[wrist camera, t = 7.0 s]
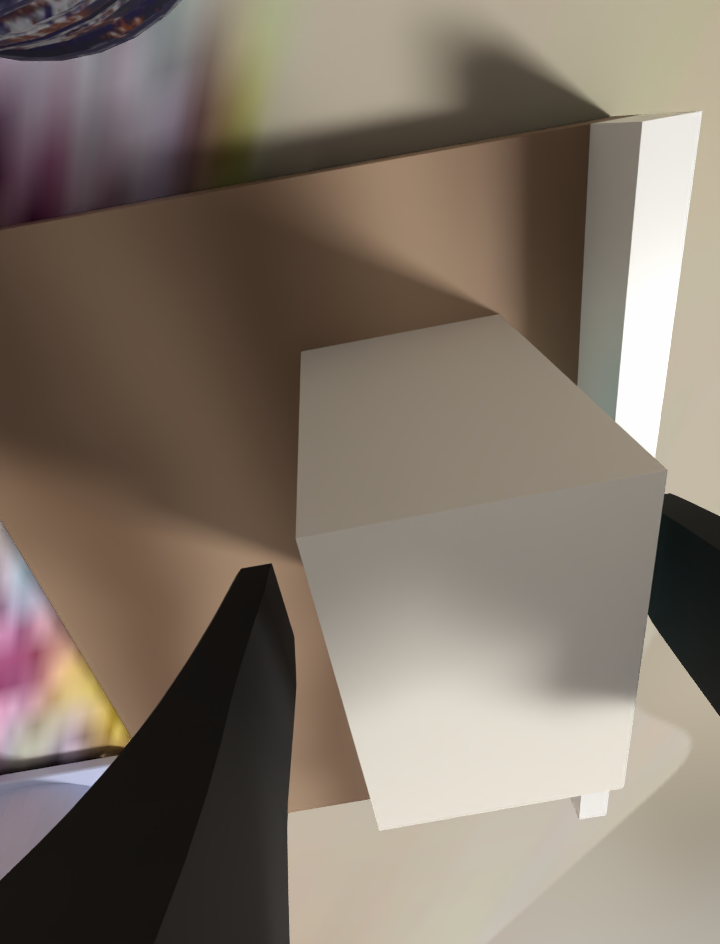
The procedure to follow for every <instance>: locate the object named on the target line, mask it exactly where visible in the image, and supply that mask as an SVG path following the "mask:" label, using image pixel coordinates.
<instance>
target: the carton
mask: <svg viewBox="0 0 720 944" xmlns="http://www.w3.org/2000/svg"><path fill="white" fill-rule="evenodd" d="M666 477H667V469H666V468H665V467H664V466H663V465H662V464H660V463H659V462H658V461H657V460H656V459H655V458H654V457H653V456H652V455H651V454H650V453H649V452H648V451H646V450H645V449H644V448H643V447H642V446H641V445H640V444H639V443H638V442H637V441H636V440H635V439H634V438H632V437H631V436H630V435H629V434H628V433H627V432H626V431H625V430H624V429H623V428H622V427H621V426H620V425H618V424H617V423H616V422H615V421H614V420H613V419H612V418H611V417H610V416H609V415H608V414H607V413H606V412H604V411H603V410H602V409H601V408H600V407H599V406H598V405H597V404H596V403H595V402H594V401H593V400H592V399H590V398H589V397H588V396H587V395H586V394H585V393H584V392H583V391H582V390H581V389H580V388H579V387H578V386H576V385H575V384H574V383H573V382H572V381H571V380H570V379H569V378H568V377H567V376H566V375H565V374H564V373H562V372H561V371H560V370H559V369H558V368H557V367H556V366H555V365H554V364H553V363H552V362H551V361H550V360H548V359H547V358H546V357H545V356H544V355H543V354H542V353H541V352H540V351H539V350H538V349H537V348H536V347H534V346H533V345H532V344H531V343H530V342H529V341H528V340H527V339H526V338H525V337H524V336H523V335H522V334H520V333H519V332H518V331H517V330H516V329H515V328H514V327H513V326H512V325H511V324H510V323H509V322H508V321H506V320H505V319H504V318H503V317H502V316H501V315H500V314H497V315H491V316H486V317H481V318H475V319H470V320H465V321H460V322H454V323H449V324H444V325H439V326H433V327H428V328H423V329H418V330H412V331H407V332H402V333H396V334H391V335H386V336H381V337H375V338H370V339H365V340H360V341H354V342H349V343H344V344H338V345H333V346H328V347H323V348H317V349H312V350H307V351H302V352H301V370H300V404H299V438H298V472H297V506H296V542H297V545H298V549H299V552H300V556H301V559H302V563H303V566H304V570H305V573H306V577H307V580H308V584H309V587H310V591H311V594H312V597H313V601H314V604H315V608H316V611H317V615H318V618H319V622H320V625H321V629H322V632H323V636H324V639H325V643H326V646H327V650H328V653H329V657H330V660H331V664H332V667H333V671H334V674H335V678H336V681H337V684H338V688H339V691H340V695H341V698H342V702H343V705H344V709H345V712H346V716H347V719H348V723H349V726H350V730H351V733H352V737H353V740H354V744H355V747H356V751H357V754H358V758H359V761H360V764H361V768H362V771H363V775H364V778H365V782H366V785H367V789H368V792H369V796H370V799H371V803H372V806H373V810H374V813H375V817H376V820H377V824H378V827H379V831H381V830H387V829H392V828H398V827H404V826H410V825H415V824H421V823H427V822H433V821H438V820H444V819H450V818H455V817H461V816H467V815H473V814H478V813H484V812H490V811H496V810H501V809H507V808H513V807H518V806H524V805H530V804H536V803H541V802H547V801H553V800H559V799H564V798H570V797H576V796H581V795H587V794H593V793H599V792H604V791H610V790H616V789H622V788H624V782H625V775H626V768H627V760H628V753H629V746H630V739H631V731H632V724H633V717H634V710H635V702H636V695H637V688H638V680H639V673H640V666H641V659H642V652H643V644H644V637H645V630H646V623H647V615H648V608H649V601H650V593H651V586H652V579H653V572H654V564H655V557H656V550H657V543H658V535H659V528H660V521H661V514H662V506H663V499H664V492H665V485H666Z"/></svg>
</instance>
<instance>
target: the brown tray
mask: <svg viewBox="0 0 720 944" xmlns="http://www.w3.org/2000/svg"><path fill="white" fill-rule="evenodd" d="M701 117H702V111H692V112H676V113H660V114H644V115H628V116H612V117H607V118H601V119H596V120H590V121H585V122H579V123H574V124H568V125H563V126H557V127H551V128H546V129H540V130H535V131H529V132H524V133H518V134H513V135H507V136H502V137H496V138H491V139H485V140H479V141H474V142H468V143H463V144H457V145H452V146H446V147H441V148H435V149H430V150H424V151H419V152H413V153H407V154H402V155H396V156H391V157H385V158H380V159H374V160H369V161H363V162H358V163H352V164H347V165H341V166H335V167H330V168H324V169H319V170H313V171H308V172H302V173H297V174H291V175H286V176H280V177H275V178H269V179H263V180H258V181H252V182H247V183H241V184H236V185H230V186H225V187H219V188H214V189H208V190H202V191H197V192H191V193H186V194H180V195H175V196H169V197H164V198H158V199H153V200H147V201H142V202H136V203H130V204H125V205H119V206H114V207H108V208H103V209H97V210H92V211H86V212H81V213H75V214H70V215H64V216H58V217H53V218H47V219H42V220H36V221H31V222H25V223H20V224H14V225H9V226H3V227H0V520H1V522H2V523H3V525H4V527H5V528H6V530H7V531H8V533H9V535H10V536H11V538H12V540H13V541H14V543H15V545H16V546H17V548H18V550H19V551H20V553H21V555H22V556H23V558H24V560H25V561H26V563H27V565H28V566H29V568H30V570H31V571H32V573H33V575H34V576H35V578H36V580H37V581H38V583H39V585H40V586H41V588H42V590H43V591H44V593H45V595H46V596H47V598H48V600H49V601H50V603H51V604H52V606H53V608H54V609H55V611H56V613H57V614H58V616H59V618H60V619H61V621H62V623H63V624H64V626H65V628H66V629H67V631H68V633H69V634H70V636H71V638H72V639H73V641H74V643H75V644H76V646H77V648H78V649H79V651H80V653H81V654H82V656H83V658H84V659H85V661H86V663H87V664H88V666H89V668H90V669H91V671H92V672H93V674H94V676H95V677H96V679H97V681H98V682H99V684H100V686H101V687H102V689H103V691H104V692H105V694H106V696H107V697H108V699H109V701H110V702H111V704H112V706H113V707H114V709H115V711H116V712H117V714H118V716H119V717H120V719H121V721H122V722H123V724H124V726H125V727H126V729H127V731H128V732H129V734H130V736H131V737H132V738H133V737H134V735H135V734H136V733H137V731H138V730H139V729H140V728H141V726H142V725H143V724H144V722H145V721H146V720H147V718H148V717H149V716H150V714H151V713H152V712H153V710H154V709H155V707H156V706H157V705H158V703H159V702H160V701H161V699H162V698H163V696H164V695H165V693H166V692H167V690H168V689H169V687H170V686H171V684H172V683H173V681H174V680H175V678H176V677H177V675H178V674H179V672H180V671H181V669H182V668H183V666H184V665H185V663H186V662H187V660H188V659H189V657H190V656H191V654H192V652H193V651H194V649H195V647H196V646H197V644H198V642H199V641H200V639H201V637H202V636H203V634H204V632H205V631H206V629H207V627H208V626H209V624H210V622H211V621H212V619H213V617H214V615H215V613H216V612H217V610H218V608H219V606H220V605H221V603H222V601H223V599H224V597H225V595H226V594H227V592H228V590H229V588H230V586H231V584H232V582H233V581H234V579H235V577H236V575H237V573H238V572H239V571H240V569H241V568H247V567H252V566H258V565H264V564H270V563H272V565H273V568H274V572H275V575H276V578H277V581H278V585H279V588H280V591H281V594H282V598H283V601H284V604H285V607H286V611H287V614H288V617H289V620H290V624H291V627H292V630H293V634H294V638H295V658H296V684H297V686H296V702H295V716H294V730H293V743H292V756H291V769H290V783H289V796H288V813H290V812H296V811H302V810H308V809H313V808H319V807H325V806H331V805H337V804H343V803H349V802H355V801H361V800H367V799H370V796H369V792H368V789H367V785H366V782H365V778H364V775H363V771H362V768H361V764H360V761H359V758H358V754H357V751H356V747H355V744H354V740H353V737H352V733H351V730H350V726H349V723H348V719H347V716H346V712H345V709H344V705H343V702H342V698H341V695H340V691H339V688H338V684H337V681H336V678H335V674H334V671H333V667H332V664H331V660H330V657H329V653H328V650H327V646H326V643H325V639H324V636H323V632H322V629H321V625H320V622H319V618H318V615H317V611H316V608H315V604H314V601H313V597H312V594H311V591H310V587H309V584H308V580H307V577H306V573H305V570H304V566H303V563H302V559H301V556H300V552H299V549H298V545H297V542H296V506H297V472H298V438H299V404H300V370H301V352H302V351H307V350H312V349H317V348H323V347H328V346H333V345H338V344H344V343H349V342H354V341H360V340H365V339H370V338H375V337H381V336H386V335H391V334H396V333H402V332H407V331H412V330H418V329H423V328H428V327H433V326H439V325H444V324H449V323H454V322H460V321H465V320H470V319H475V318H481V317H486V316H491V315H497V314H500V315H501V316H502V317H503V318H504V319H505V320H506V321H508V322H509V323H510V324H511V325H512V326H513V327H514V328H515V329H516V330H517V331H518V332H519V333H520V334H522V335H523V336H524V337H525V338H526V339H527V340H528V341H529V342H530V343H531V344H532V345H533V346H534V347H536V348H537V349H538V350H539V351H540V352H541V353H542V354H543V355H544V356H545V357H546V358H547V359H548V360H550V361H551V362H552V363H553V364H554V365H555V366H556V367H557V368H558V369H559V370H560V371H561V372H562V373H564V374H565V375H566V376H567V377H568V378H569V379H570V380H571V381H572V382H573V383H574V384H575V385H576V386H578V387H579V388H580V389H581V390H582V391H583V392H584V393H585V394H586V395H587V396H588V397H589V398H590V399H592V400H593V401H594V402H595V403H596V404H597V405H598V406H599V407H600V408H601V409H602V410H603V411H604V412H606V413H607V414H608V415H609V416H610V417H611V418H612V419H613V420H614V421H615V422H616V423H617V424H618V425H620V426H621V427H622V428H623V429H624V430H625V431H626V432H627V433H628V434H629V435H630V436H631V437H632V438H634V439H635V440H636V441H637V442H638V443H639V444H640V445H641V446H642V447H643V448H644V449H645V450H646V451H648V452H649V453H650V454H651V455H652V456H653V457H654V458H655V453H656V446H657V439H658V432H659V424H660V417H661V410H662V402H663V395H664V388H665V380H666V373H667V366H668V358H669V351H670V344H671V337H672V329H673V322H674V315H675V307H676V300H677V293H678V285H679V278H680V271H681V263H682V256H683V249H684V242H685V234H686V227H687V220H688V212H689V205H690V198H691V190H692V183H693V176H694V168H695V161H696V154H697V147H698V139H699V132H700V125H701ZM608 797H609V791H604V792H599V793H593V794H587V795H581V796H576V797H570V798H571V801H572V803H573V806H574V808H575V811H576V813H577V816H578V818H579V819H585V818H591V817H597V816H603V815H606V812H607V804H608Z"/></svg>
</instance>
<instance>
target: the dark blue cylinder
mask: <svg viewBox="0 0 720 944" xmlns="http://www.w3.org/2000/svg"><path fill="white" fill-rule="evenodd" d="M180 1H181V0H0V57H2V58H8V59H14V60H20V61H63V60H67V59H72V58H77V57H82V56H87V55H91V54H96V53H101V52H103V51H105V50H108V49H110V48H112V47H114V46H117V45H119V44H121V43H124V42H126V41H128V40H130V39H133V38H135V37H137V36H138V35H140V34H141V33H142V32H144V31H145V30H147V29H148V28H149V27H151V26H152V25H154V24H155V23H157V22H158V21H159V20H161V19H162V18H164V17H165V16H166V15H168V14H169V13H170V12H171V11H172V10H173V9H174V8H175V7H176V5H177V4H178V3H179V2H180Z"/></svg>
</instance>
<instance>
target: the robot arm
mask: <svg viewBox="0 0 720 944" xmlns="http://www.w3.org/2000/svg"><path fill="white" fill-rule="evenodd" d="M648 615H649V617H650V619H651V621H652V622H653V624H654V626H655V627H656V628H657V630H658V631H659V633H660V634H661V636H662V637H663V638H664V640H665V641H666V643H667V644H668V645H669V647H670V648H671V650H672V651H673V652H674V654H675V655H676V657H677V658H678V659H679V661H680V662H681V664H682V665H683V666H684V668H685V669H686V670H687V672H688V673H689V675H690V676H691V677H692V679H693V680H694V681H695V683H696V684H697V685H698V687H699V688H700V690H701V691H702V692H703V694H704V695H705V696H706V698H707V699H708V700H709V702H710V703H711V705H712V706H713V707H714V709H715V710H716V712H717V713H718V714H719V716H720V516H718V515H716V514H714V513H712V512H710V511H708V510H706V509H704V508H702V507H699V506H697V505H695V504H693V503H691V502H689V501H687V500H685V499H682V498H680V497H678V496H675V495H673V494H671V493H669V494H664V499H663V506H662V514H661V521H660V528H659V535H658V543H657V550H656V557H655V564H654V572H653V579H652V586H651V593H650V601H649V608H648ZM296 686H297V684H296V658H295V638H294V634H293V630H292V627H291V624H290V620H289V617H288V614H287V611H286V607H285V604H284V601H283V598H282V594H281V591H280V588H279V585H278V581H277V578H276V575H275V572H274V568H273V565H272V563H270V564H264V565H258V566H252V567H247V568H241V569H240V571H239V572H238V573H237V575H236V577H235V579H234V581H233V582H232V584H231V586H230V588H229V590H228V592H227V594H226V595H225V597H224V599H223V601H222V603H221V605H220V606H219V608H218V610H217V612H216V613H215V615H214V617H213V619H212V621H211V622H210V624H209V626H208V627H207V629H206V631H205V632H204V634H203V636H202V637H201V639H200V641H199V642H198V644H197V646H196V647H195V649H194V651H193V652H192V654H191V656H190V657H189V659H188V660H187V662H186V663H185V665H184V666H183V668H182V669H181V671H180V672H179V674H178V675H177V677H176V678H175V680H174V681H173V683H172V684H171V686H170V687H169V689H168V690H167V692H166V693H165V695H164V696H163V698H162V699H161V701H160V702H159V703H158V705H157V706H156V707H155V709H154V710H153V712H152V713H151V714H150V716H149V717H148V718H147V720H146V721H145V722H144V724H143V725H142V726H141V728H140V729H139V730H138V731H137V733H136V734H135V735H134V737H133V738H132V739H131V740H130V742H129V743H128V744H127V745H126V747H125V748H124V749H123V750H122V752H121V753H120V754H119V755H117V756H111V757H105V758H99V759H93V760H87V761H82V762H76V763H70V764H64V765H58V766H52V767H46V768H40V769H34V770H29V771H23V772H17V773H11V774H5V775H0V944H290V941H289V905H288V854H287V818H288V796H289V783H290V769H291V756H292V743H293V730H294V716H295V702H296Z"/></svg>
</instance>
